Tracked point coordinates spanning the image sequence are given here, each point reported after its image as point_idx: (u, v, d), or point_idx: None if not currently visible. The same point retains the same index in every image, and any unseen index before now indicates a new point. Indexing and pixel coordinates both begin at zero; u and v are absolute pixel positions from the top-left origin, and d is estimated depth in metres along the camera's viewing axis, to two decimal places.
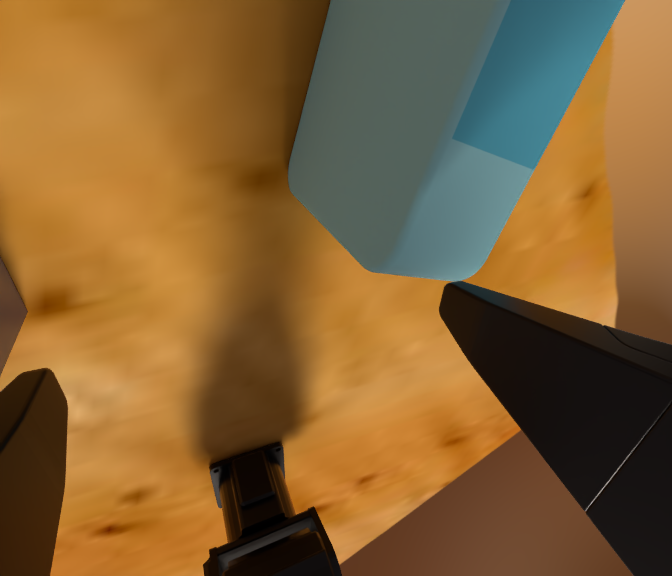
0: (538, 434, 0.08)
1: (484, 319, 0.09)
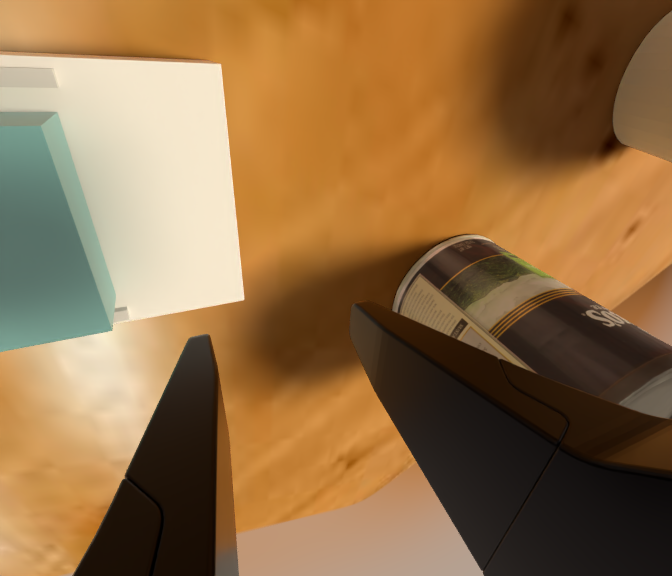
0: (436, 479, 0.07)
1: (382, 346, 0.08)
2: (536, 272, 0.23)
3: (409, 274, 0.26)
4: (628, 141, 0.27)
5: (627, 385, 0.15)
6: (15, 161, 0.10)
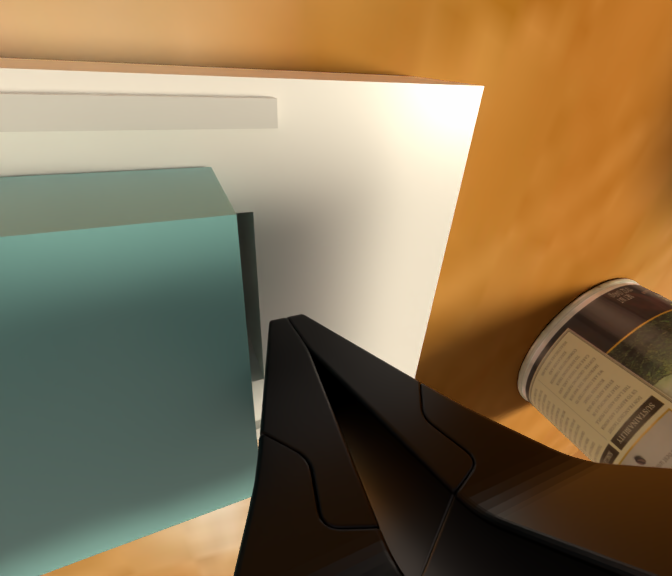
0: None
1: None
2: None
3: (551, 327, 0.22)
4: None
5: None
6: (181, 280, 0.05)
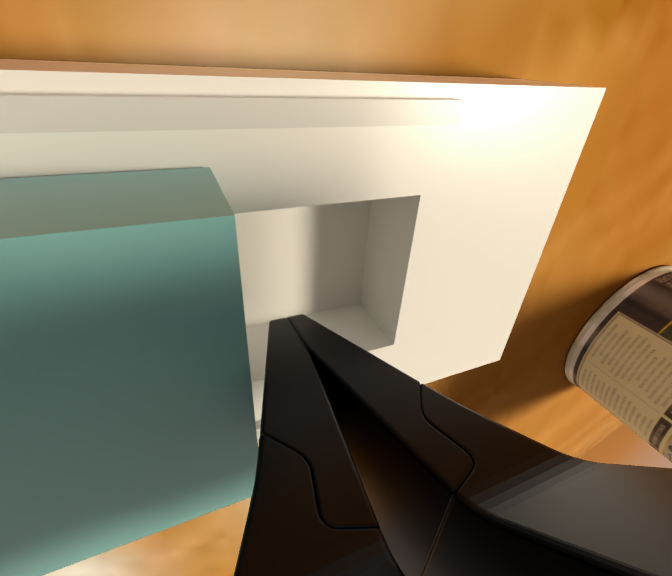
0: None
1: None
2: None
3: (601, 311, 0.23)
4: None
5: None
6: (180, 280, 0.05)
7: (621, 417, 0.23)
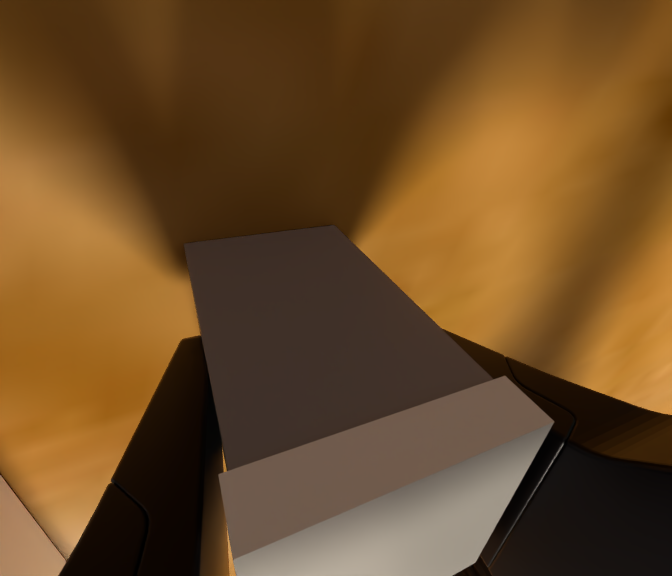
0: None
1: None
2: None
3: None
4: None
5: None
6: None
7: None
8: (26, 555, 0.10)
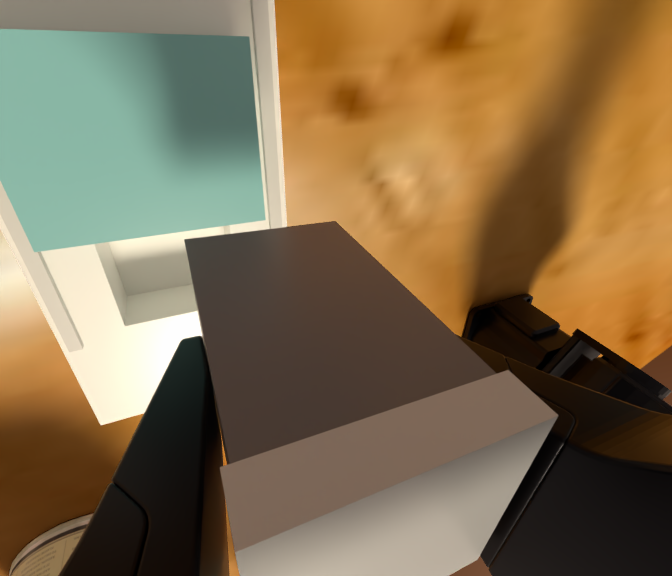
0: None
1: None
2: None
3: None
4: None
5: None
6: (237, 200, 0.13)
7: None
8: None
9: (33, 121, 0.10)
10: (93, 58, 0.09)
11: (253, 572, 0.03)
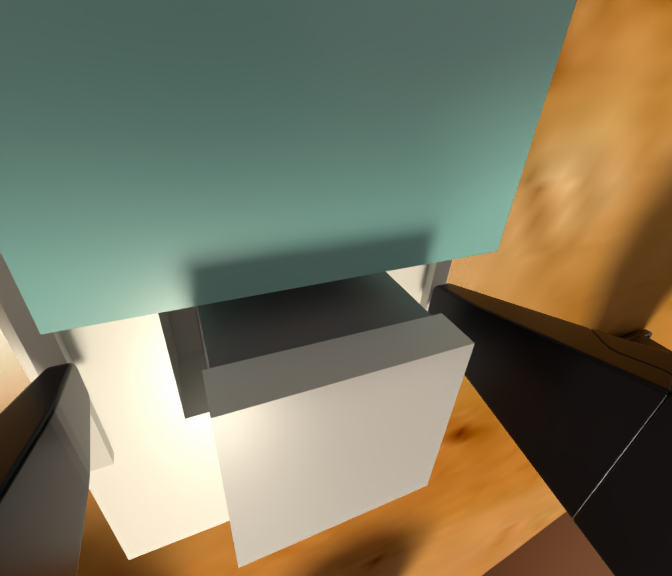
0: (526, 440, 0.08)
1: (472, 322, 0.09)
2: None
3: None
4: None
5: None
6: (470, 212, 0.06)
7: None
8: None
9: None
10: None
11: (225, 443, 0.05)
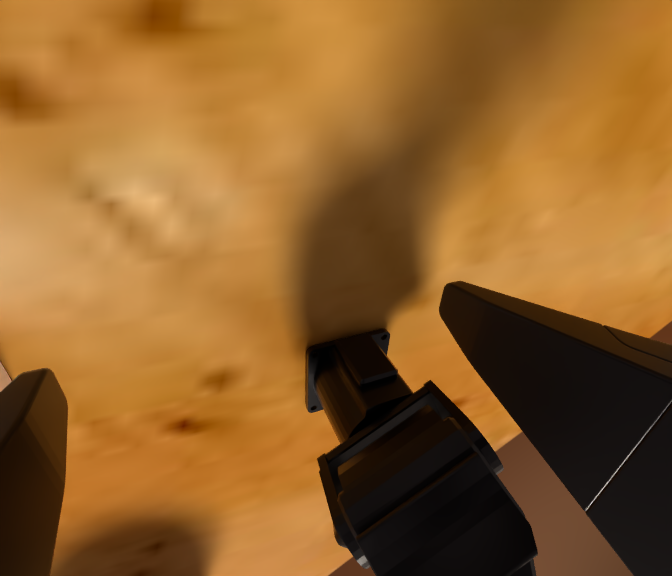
0: (538, 434, 0.08)
1: (484, 319, 0.09)
2: None
3: None
4: None
5: None
6: None
7: None
8: None
9: None
10: None
11: None
